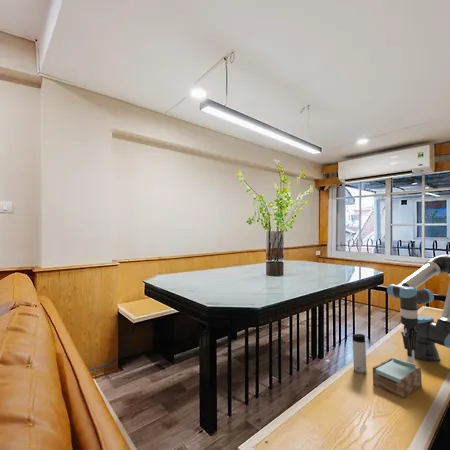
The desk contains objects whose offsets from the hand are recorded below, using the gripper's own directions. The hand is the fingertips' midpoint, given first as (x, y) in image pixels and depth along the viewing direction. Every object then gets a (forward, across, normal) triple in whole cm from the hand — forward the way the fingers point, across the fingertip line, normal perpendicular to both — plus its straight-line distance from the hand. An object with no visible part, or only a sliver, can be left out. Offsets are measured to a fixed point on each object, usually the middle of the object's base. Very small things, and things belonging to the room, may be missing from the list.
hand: (411, 362), depth 143 cm
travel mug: (+8, +17, -18) cm, 26 cm away
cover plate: (+1, +15, 0) cm, 15 cm away
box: (+7, +15, 0) cm, 17 cm away
